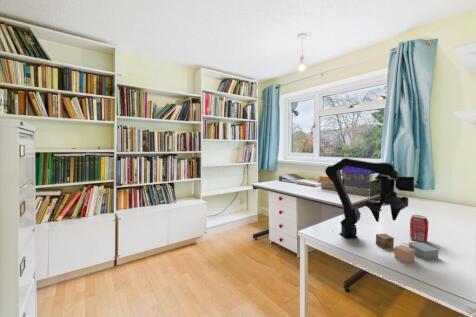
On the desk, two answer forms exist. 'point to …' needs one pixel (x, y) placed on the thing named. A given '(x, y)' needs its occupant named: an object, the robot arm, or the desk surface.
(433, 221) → the desk surface
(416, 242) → the swatch
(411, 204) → the desk surface
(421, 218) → the soda can
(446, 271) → the desk surface
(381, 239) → the walnut cube
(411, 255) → the terracotta cube
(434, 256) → the slate base
